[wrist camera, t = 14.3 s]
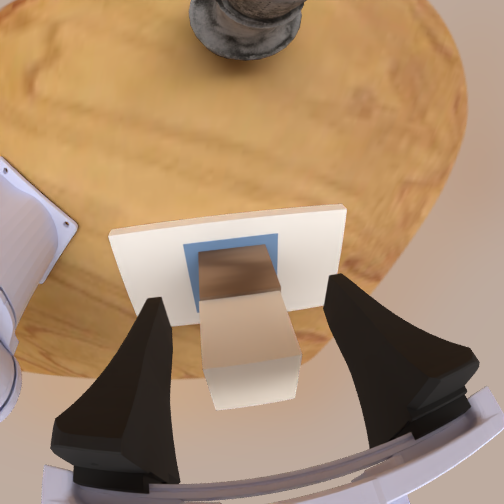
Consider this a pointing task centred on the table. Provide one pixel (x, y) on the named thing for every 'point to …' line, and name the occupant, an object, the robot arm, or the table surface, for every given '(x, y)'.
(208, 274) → the walnut block
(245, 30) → the grey tall round piece
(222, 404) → the cream block
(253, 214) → the board
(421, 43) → the table surface
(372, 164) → the table surface
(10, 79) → the table surface
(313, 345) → the table surface
